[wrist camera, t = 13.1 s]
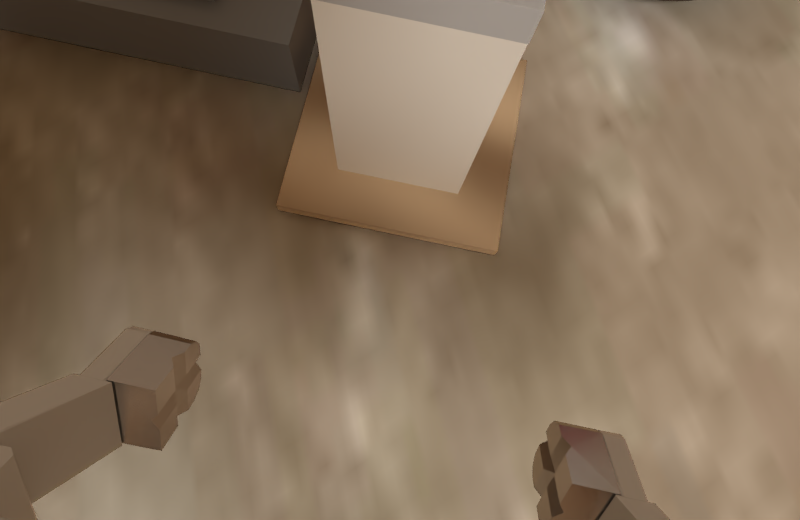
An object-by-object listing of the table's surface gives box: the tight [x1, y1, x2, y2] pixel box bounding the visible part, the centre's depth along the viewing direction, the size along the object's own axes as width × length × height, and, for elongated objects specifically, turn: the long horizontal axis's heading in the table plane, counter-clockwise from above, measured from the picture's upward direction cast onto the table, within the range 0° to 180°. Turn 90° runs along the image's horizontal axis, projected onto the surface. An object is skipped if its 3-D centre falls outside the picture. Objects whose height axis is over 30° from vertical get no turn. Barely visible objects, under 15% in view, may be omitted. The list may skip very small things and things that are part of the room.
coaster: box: [276, 55, 527, 255], centre depth 20 cm, size 9×9×1 cm
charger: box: [311, 0, 546, 194], centre depth 15 cm, size 5×5×10 cm
